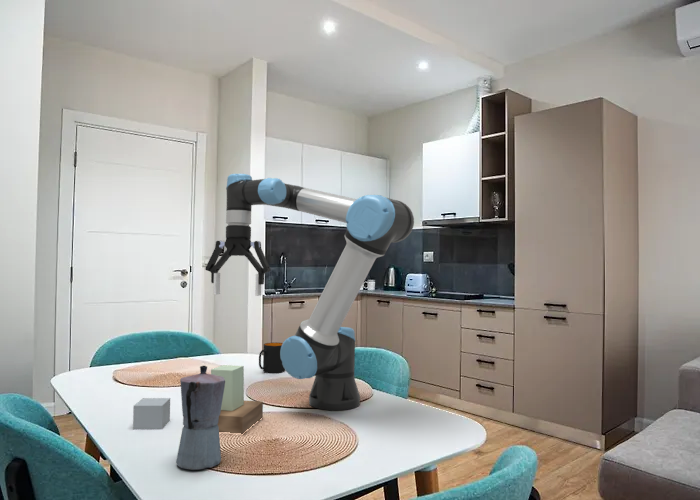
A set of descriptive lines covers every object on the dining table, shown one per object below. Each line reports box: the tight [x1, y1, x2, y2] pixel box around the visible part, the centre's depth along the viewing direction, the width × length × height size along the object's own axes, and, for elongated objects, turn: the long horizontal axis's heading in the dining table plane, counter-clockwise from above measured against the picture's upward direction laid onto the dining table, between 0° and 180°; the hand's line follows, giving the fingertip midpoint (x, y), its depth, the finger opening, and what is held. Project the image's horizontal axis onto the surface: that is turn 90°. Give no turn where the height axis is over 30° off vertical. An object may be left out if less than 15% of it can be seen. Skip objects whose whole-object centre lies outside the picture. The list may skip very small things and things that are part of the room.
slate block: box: [132, 397, 171, 431], centre depth 131 cm, size 7×7×6 cm
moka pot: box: [175, 365, 225, 471], centre depth 106 cm, size 10×15×20 cm, turn 2°
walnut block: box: [217, 399, 264, 434], centre depth 131 cm, size 14×14×5 cm
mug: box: [258, 342, 286, 374], centre depth 195 cm, size 8×12×10 cm
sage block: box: [210, 364, 245, 411], centre depth 132 cm, size 6×6×10 cm
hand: (237, 295), depth 156 cm, fingers open, 13 cm apart
